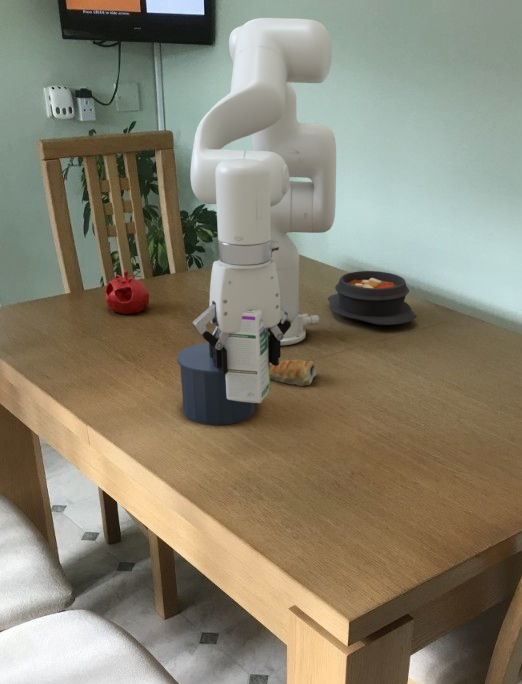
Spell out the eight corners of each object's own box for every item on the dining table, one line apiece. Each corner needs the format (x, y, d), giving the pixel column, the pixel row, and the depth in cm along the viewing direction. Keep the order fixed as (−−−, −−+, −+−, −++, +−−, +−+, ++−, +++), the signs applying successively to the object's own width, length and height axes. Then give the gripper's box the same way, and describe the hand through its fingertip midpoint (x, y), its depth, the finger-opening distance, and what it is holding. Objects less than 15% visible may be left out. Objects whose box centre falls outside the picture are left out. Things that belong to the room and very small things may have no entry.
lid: (238, 343, 147) (237, 318, 144) (269, 369, 137) (268, 343, 134) (166, 354, 141) (164, 329, 139) (193, 382, 131) (191, 355, 129)
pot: (238, 390, 151) (236, 341, 146) (265, 417, 142) (265, 365, 136) (174, 402, 146) (170, 351, 141) (198, 430, 137) (195, 377, 132)
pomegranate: (129, 300, 195) (125, 261, 190) (159, 309, 190) (155, 269, 185) (97, 310, 188) (92, 270, 183) (127, 319, 183) (122, 278, 178)
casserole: (435, 325, 185) (438, 288, 180) (366, 338, 176) (368, 300, 172) (373, 295, 203) (375, 261, 198) (309, 306, 195) (309, 270, 190)
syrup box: (261, 404, 126) (260, 312, 119) (224, 400, 127) (221, 309, 120) (270, 390, 131) (269, 301, 123) (235, 386, 132) (232, 297, 124)
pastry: (262, 382, 154) (261, 363, 152) (271, 369, 160) (271, 351, 158) (310, 387, 153) (310, 368, 151) (318, 374, 159) (318, 355, 157)
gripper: (287, 241, 124) (287, 351, 133) (178, 252, 117) (186, 367, 126) (310, 252, 118) (308, 366, 127) (196, 264, 111) (203, 384, 120)
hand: (247, 366), depth 127 cm, fingers closed on syrup box, 8 cm apart
